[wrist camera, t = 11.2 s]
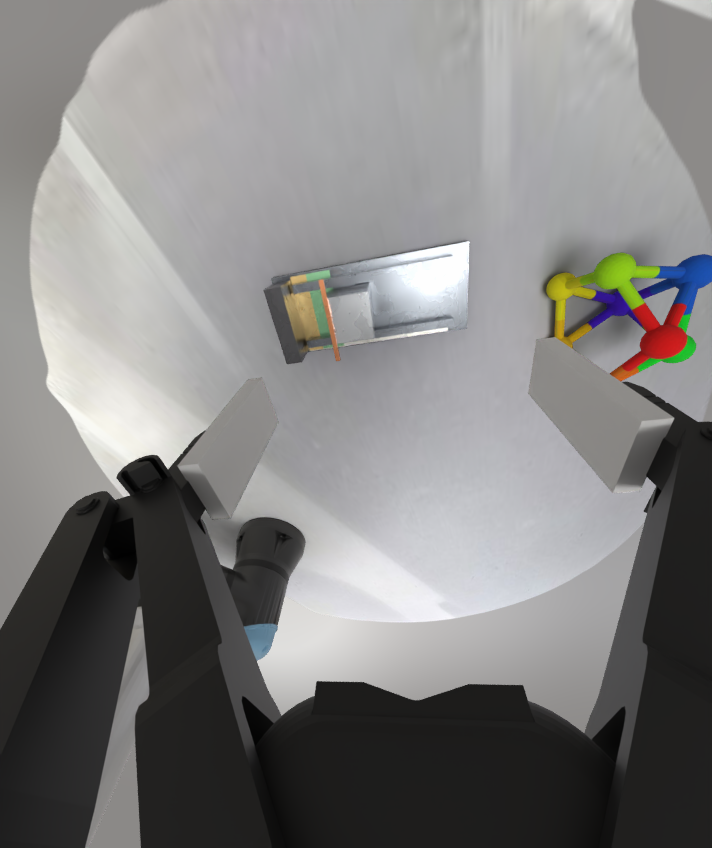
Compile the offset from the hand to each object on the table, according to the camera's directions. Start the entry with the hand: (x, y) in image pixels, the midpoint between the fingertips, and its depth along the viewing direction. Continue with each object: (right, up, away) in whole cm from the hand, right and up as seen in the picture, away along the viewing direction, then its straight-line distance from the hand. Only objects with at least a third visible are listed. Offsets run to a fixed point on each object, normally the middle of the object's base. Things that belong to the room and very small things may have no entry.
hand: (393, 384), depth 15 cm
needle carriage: (-2, +13, +24) cm, 27 cm away
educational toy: (+28, +14, +24) cm, 39 cm away
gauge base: (0, +14, +25) cm, 29 cm away
